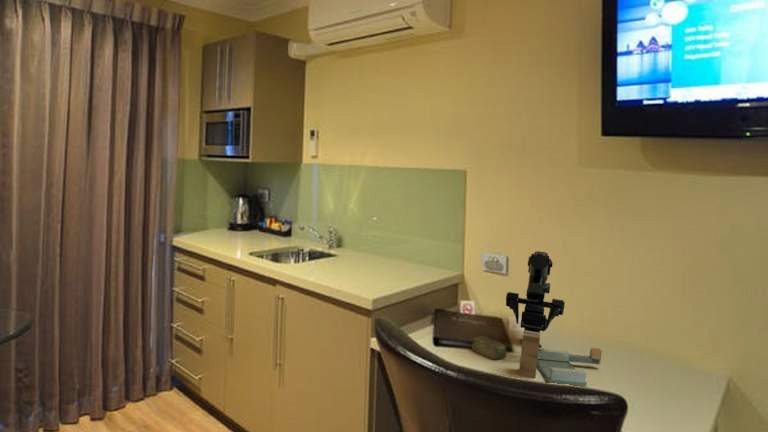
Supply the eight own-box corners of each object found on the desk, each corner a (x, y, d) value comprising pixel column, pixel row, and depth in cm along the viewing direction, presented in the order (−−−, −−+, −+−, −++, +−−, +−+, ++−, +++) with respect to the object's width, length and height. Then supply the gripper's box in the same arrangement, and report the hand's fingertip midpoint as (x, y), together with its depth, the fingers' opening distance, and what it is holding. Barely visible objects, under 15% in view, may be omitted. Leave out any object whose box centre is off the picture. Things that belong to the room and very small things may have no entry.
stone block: (496, 362, 163) (497, 347, 163) (469, 350, 172) (471, 336, 172) (506, 358, 167) (508, 344, 167) (480, 347, 176) (481, 334, 175)
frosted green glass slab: (532, 359, 168) (534, 346, 168) (565, 362, 168) (566, 349, 167) (549, 384, 149) (550, 369, 148) (586, 387, 148) (587, 373, 148)
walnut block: (519, 369, 158) (523, 330, 157) (535, 372, 157) (540, 332, 156) (518, 375, 154) (523, 334, 152) (535, 378, 152) (539, 337, 151)
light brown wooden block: (536, 356, 166) (537, 342, 165) (597, 361, 165) (599, 348, 165) (537, 358, 164) (539, 345, 163) (600, 364, 163) (601, 350, 163)
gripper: (509, 268, 167) (502, 309, 158) (567, 276, 161) (564, 319, 152) (509, 285, 176) (502, 325, 167) (564, 294, 170) (561, 335, 161)
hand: (531, 325), depth 162 cm, fingers open, 9 cm apart
